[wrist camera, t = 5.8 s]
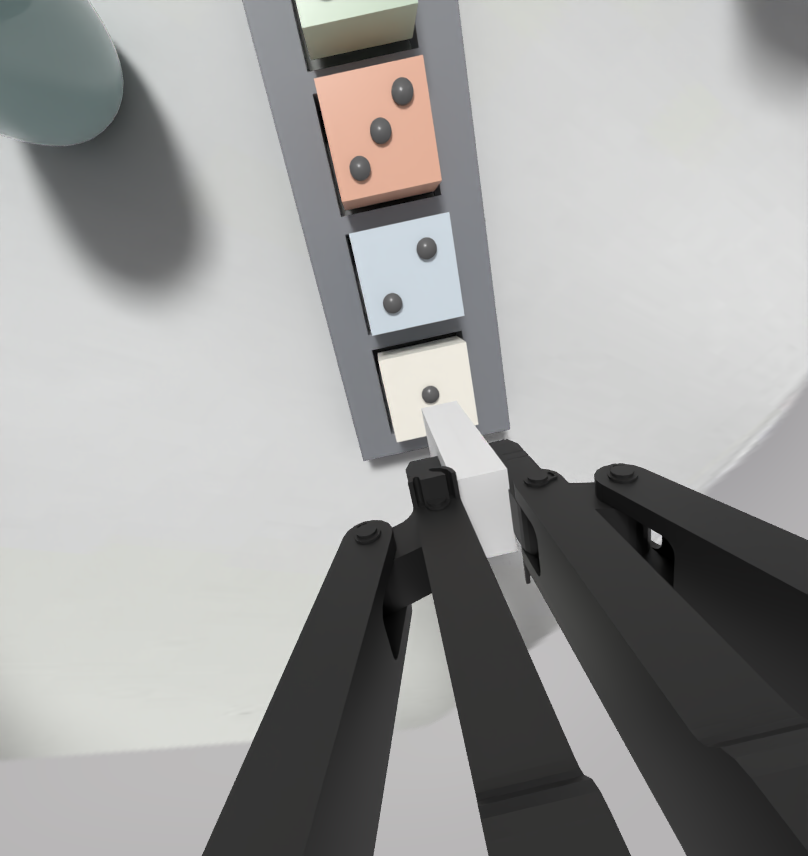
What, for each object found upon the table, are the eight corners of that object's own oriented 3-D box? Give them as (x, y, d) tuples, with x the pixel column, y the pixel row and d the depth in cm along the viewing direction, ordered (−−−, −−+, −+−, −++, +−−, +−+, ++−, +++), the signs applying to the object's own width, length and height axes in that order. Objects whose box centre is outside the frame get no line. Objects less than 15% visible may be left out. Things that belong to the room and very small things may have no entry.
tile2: (372, 330, 24) (372, 336, 22) (351, 238, 23) (348, 233, 20) (454, 311, 24) (465, 316, 22) (440, 219, 23) (449, 211, 20)
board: (364, 448, 30) (363, 461, 27) (228, -75, 20) (211, -116, 18) (500, 418, 30) (510, 429, 27) (431, -119, 20) (438, -165, 18)
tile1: (394, 427, 27) (397, 443, 24) (377, 353, 25) (378, 361, 23) (468, 411, 27) (479, 425, 24) (456, 335, 25) (466, 342, 23)
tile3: (345, 210, 23) (341, 201, 20) (320, 102, 21) (313, 76, 18) (434, 191, 23) (442, 179, 20) (416, 81, 21) (423, 52, 18)
